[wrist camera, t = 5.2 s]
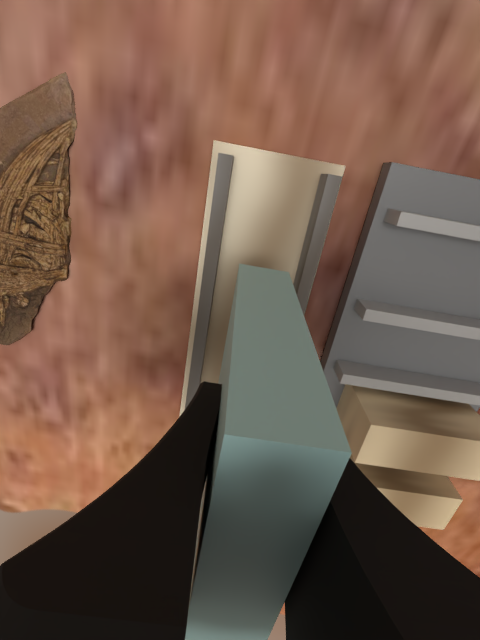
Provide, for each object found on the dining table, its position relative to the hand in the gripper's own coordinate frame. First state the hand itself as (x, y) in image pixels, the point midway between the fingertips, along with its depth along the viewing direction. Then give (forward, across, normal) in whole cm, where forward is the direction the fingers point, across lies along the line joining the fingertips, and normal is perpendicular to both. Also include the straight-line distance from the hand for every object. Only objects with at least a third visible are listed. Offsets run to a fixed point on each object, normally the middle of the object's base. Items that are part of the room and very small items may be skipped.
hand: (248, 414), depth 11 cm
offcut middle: (+8, -10, +4) cm, 13 cm away
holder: (+9, 0, 0) cm, 9 cm away
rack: (+9, -10, +1) cm, 13 cm away
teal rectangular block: (+5, 0, 0) cm, 5 cm away
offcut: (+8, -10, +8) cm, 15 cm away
